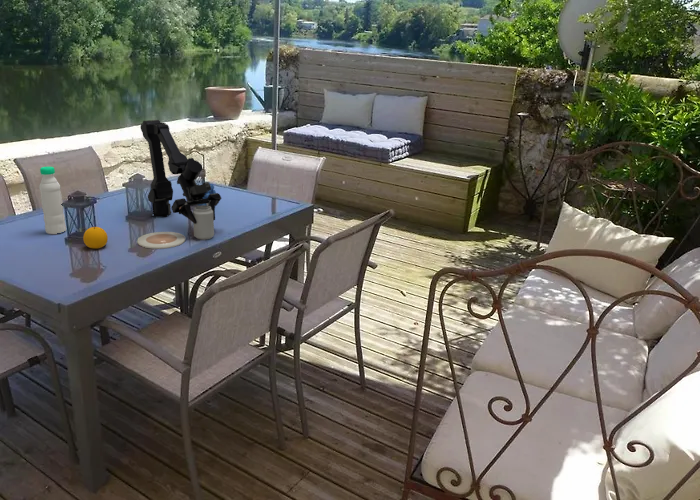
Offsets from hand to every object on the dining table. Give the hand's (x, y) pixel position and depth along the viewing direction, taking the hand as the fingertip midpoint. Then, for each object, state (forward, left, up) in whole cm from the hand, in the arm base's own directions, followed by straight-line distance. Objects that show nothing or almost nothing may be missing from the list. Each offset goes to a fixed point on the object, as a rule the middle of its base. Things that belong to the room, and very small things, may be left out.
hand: (205, 221), depth 216 cm
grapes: (-12, +39, -7) cm, 41 cm away
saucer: (-15, -6, -7) cm, 17 cm away
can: (-1, +1, -7) cm, 7 cm away
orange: (-35, -16, -7) cm, 39 cm away
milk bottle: (-57, -3, -7) cm, 57 cm away
